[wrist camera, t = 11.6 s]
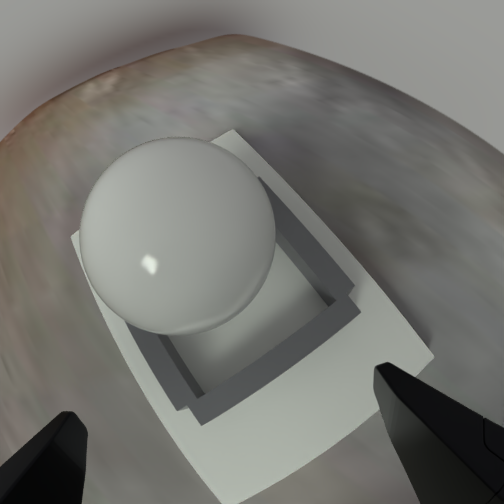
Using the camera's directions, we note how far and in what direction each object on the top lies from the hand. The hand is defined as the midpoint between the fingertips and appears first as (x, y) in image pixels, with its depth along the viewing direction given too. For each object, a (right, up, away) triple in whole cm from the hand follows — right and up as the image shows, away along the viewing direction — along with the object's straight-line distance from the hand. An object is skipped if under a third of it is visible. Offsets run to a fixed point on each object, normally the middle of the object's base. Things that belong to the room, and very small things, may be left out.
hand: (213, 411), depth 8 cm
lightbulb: (-1, +2, +10) cm, 10 cm away
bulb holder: (0, +2, +11) cm, 11 cm away
